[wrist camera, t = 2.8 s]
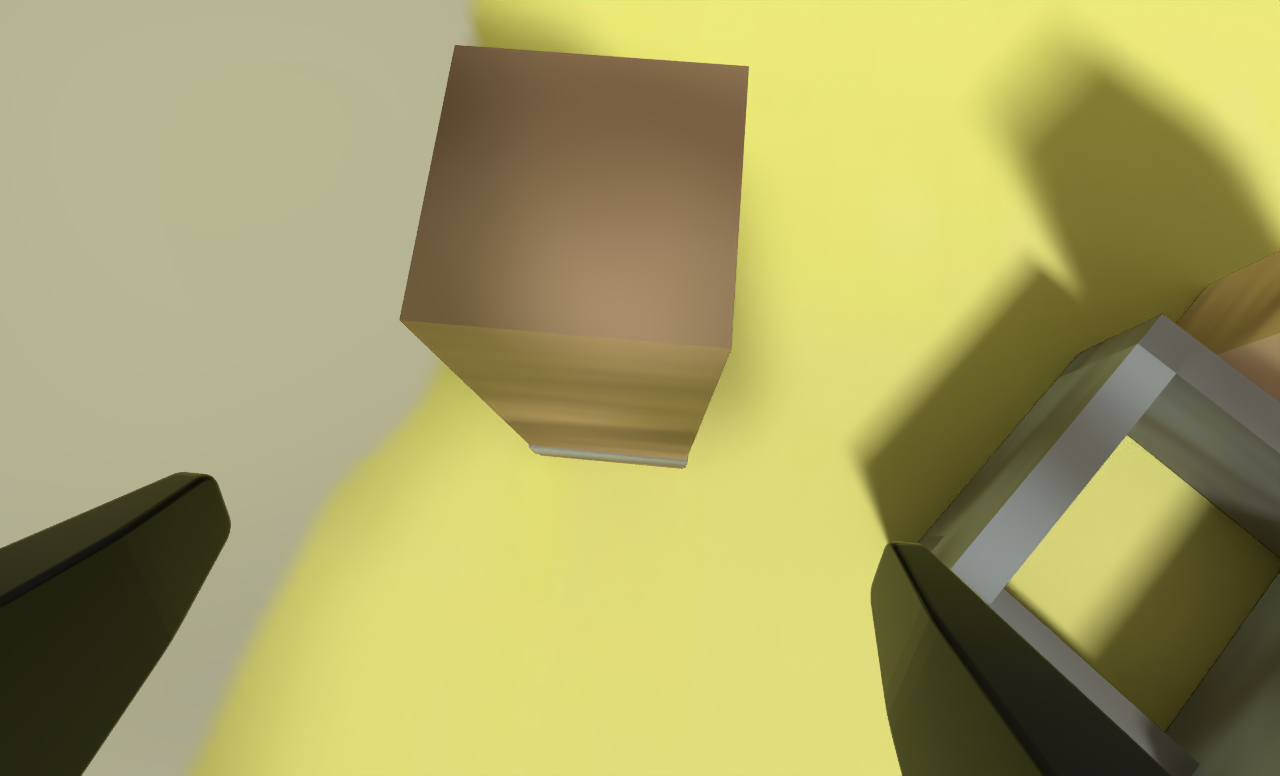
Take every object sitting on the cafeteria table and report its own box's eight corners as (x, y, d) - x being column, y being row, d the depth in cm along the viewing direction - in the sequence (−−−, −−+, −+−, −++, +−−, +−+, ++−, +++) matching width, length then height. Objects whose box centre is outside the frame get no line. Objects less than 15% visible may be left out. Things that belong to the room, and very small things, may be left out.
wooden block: (684, 469, 20) (735, 353, 9) (538, 456, 20) (394, 323, 9) (694, 332, 21) (752, 63, 10) (557, 320, 21) (452, 41, 10)
